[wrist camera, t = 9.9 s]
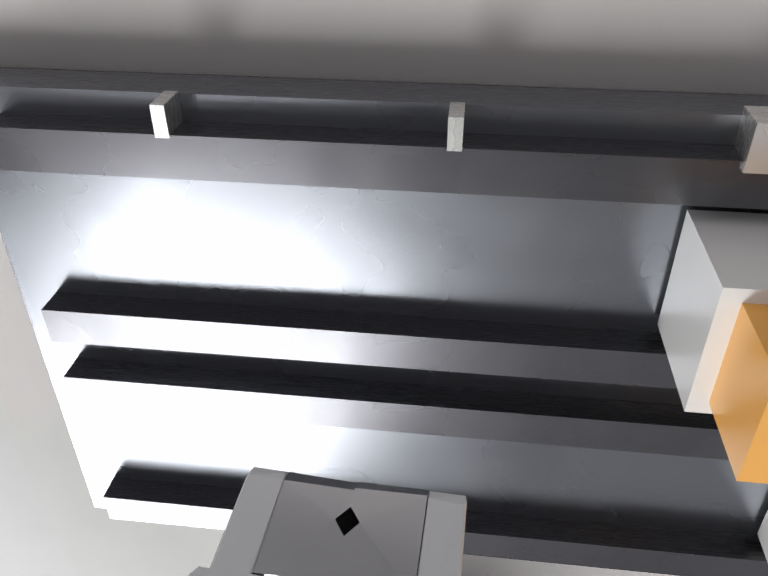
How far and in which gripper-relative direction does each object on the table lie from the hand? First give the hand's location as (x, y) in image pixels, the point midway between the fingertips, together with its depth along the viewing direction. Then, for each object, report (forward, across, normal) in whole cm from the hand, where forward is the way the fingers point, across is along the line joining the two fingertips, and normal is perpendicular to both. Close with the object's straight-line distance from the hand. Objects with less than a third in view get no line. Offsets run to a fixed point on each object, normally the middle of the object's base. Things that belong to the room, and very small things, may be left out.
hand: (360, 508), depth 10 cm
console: (+9, -3, +4) cm, 10 cm away
